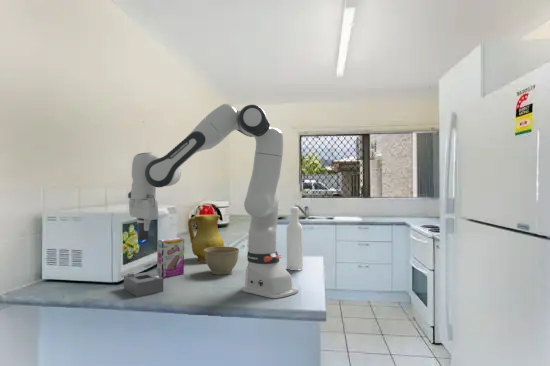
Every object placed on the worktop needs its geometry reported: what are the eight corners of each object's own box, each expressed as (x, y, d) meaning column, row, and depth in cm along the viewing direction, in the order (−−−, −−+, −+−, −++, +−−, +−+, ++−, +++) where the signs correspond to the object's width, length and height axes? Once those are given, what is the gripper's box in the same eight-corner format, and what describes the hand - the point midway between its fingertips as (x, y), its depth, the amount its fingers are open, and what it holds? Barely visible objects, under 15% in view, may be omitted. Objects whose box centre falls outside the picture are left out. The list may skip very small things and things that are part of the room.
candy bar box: (162, 278, 155) (162, 241, 155) (156, 276, 159) (156, 239, 159) (184, 274, 163) (184, 238, 163) (178, 272, 167) (178, 237, 167)
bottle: (305, 268, 174) (305, 207, 174) (298, 271, 167) (298, 207, 167) (290, 266, 178) (290, 206, 178) (283, 269, 171) (283, 207, 171)
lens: (150, 239, 138) (150, 218, 138) (139, 240, 136) (140, 218, 136) (146, 238, 142) (146, 217, 142) (135, 239, 139) (136, 218, 139)
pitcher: (204, 264, 182) (204, 215, 183) (184, 260, 195) (184, 214, 196) (230, 260, 194) (230, 214, 196) (210, 257, 207) (209, 214, 209)
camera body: (163, 291, 137) (163, 275, 137) (137, 296, 130) (137, 280, 130) (148, 283, 147) (148, 269, 147) (123, 288, 140) (123, 273, 140)
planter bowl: (213, 279, 155) (213, 253, 155) (198, 271, 168) (198, 248, 168) (245, 273, 164) (245, 249, 164) (228, 267, 177) (228, 245, 177)
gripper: (162, 195, 133) (162, 232, 133) (141, 193, 148) (141, 226, 148) (146, 195, 129) (145, 233, 129) (126, 193, 144) (126, 228, 144)
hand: (143, 229), depth 139 cm, fingers closed on lens, 4 cm apart
